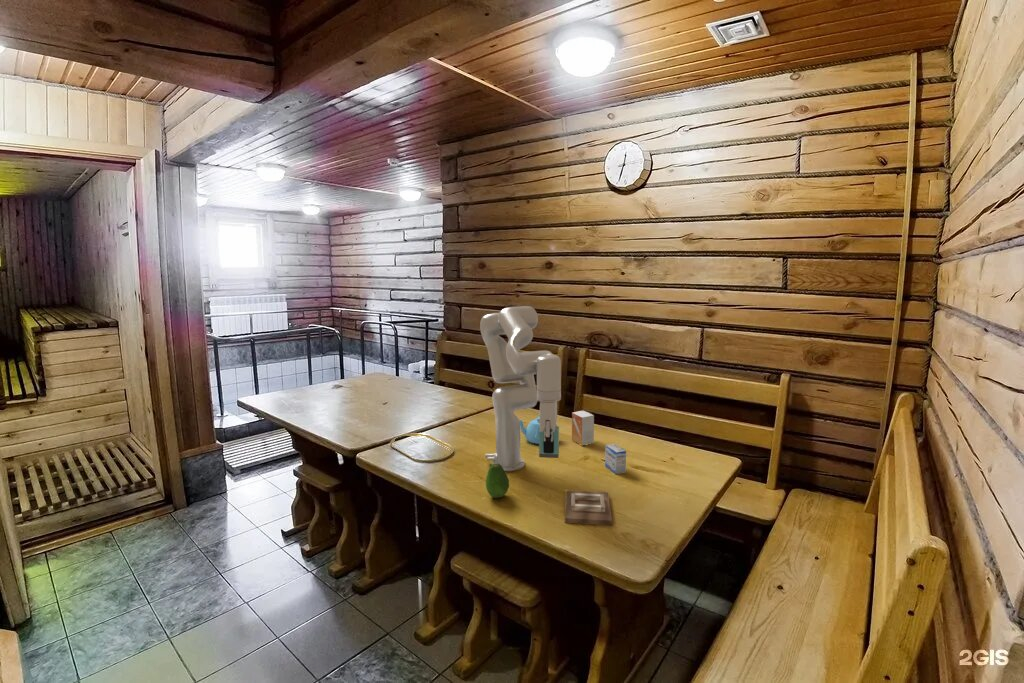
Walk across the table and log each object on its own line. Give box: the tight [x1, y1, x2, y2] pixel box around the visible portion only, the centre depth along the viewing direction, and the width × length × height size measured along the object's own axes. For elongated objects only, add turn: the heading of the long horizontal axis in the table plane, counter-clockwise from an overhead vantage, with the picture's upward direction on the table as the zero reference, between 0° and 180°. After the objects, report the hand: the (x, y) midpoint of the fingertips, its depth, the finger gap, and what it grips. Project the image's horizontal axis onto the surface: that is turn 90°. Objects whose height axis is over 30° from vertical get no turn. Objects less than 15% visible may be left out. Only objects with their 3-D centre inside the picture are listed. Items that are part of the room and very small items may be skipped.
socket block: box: [564, 490, 613, 526], centre depth 154 cm, size 14×18×3 cm
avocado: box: [485, 463, 510, 499], centre depth 163 cm, size 8×8×12 cm
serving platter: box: [389, 432, 455, 463], centre depth 208 cm, size 19×35×2 cm, turn 41°
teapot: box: [518, 412, 558, 445], centre depth 214 cm, size 15×15×10 cm
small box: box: [571, 410, 595, 446], centre depth 210 cm, size 8×6×13 cm
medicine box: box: [604, 443, 627, 475], centre depth 183 cm, size 8×4×9 cm, turn 21°
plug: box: [538, 425, 560, 459], centre depth 154 cm, size 6×4×9 cm, turn 82°
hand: (549, 449), depth 154 cm, fingers closed on plug, 4 cm apart
